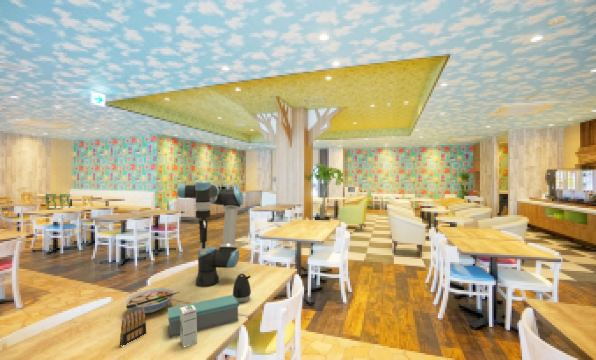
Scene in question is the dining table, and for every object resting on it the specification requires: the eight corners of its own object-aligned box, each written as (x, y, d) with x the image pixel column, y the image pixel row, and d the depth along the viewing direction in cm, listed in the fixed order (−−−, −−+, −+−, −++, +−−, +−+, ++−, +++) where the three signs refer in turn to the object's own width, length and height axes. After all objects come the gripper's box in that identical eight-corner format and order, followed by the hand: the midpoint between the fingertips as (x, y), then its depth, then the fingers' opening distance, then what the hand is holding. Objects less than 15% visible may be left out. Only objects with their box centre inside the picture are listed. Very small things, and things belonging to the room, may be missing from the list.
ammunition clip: (143, 332, 121) (143, 306, 121) (146, 333, 120) (146, 306, 120) (119, 346, 111) (119, 317, 111) (122, 347, 110) (122, 318, 110)
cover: (167, 310, 127) (167, 306, 127) (232, 296, 142) (232, 293, 142) (168, 322, 116) (168, 318, 116) (239, 306, 130) (239, 302, 130)
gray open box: (169, 324, 127) (168, 310, 127) (231, 310, 141) (231, 297, 141) (170, 337, 117) (169, 321, 117) (237, 320, 131) (237, 306, 131)
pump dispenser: (247, 305, 147) (246, 277, 147) (229, 303, 149) (229, 276, 149) (253, 297, 157) (253, 271, 157) (237, 296, 159) (237, 270, 159)
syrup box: (197, 343, 113) (197, 308, 113) (182, 348, 109) (182, 312, 109) (193, 336, 117) (193, 303, 117) (179, 341, 114) (179, 307, 114)
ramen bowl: (168, 296, 159) (168, 282, 159) (183, 309, 143) (183, 294, 143) (118, 311, 142) (118, 295, 142) (129, 327, 125) (129, 310, 125)
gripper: (194, 209, 148) (194, 252, 147) (197, 211, 136) (197, 257, 136) (208, 208, 151) (208, 250, 151) (212, 210, 140) (212, 255, 139)
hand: (203, 253), depth 143 cm, fingers closed
